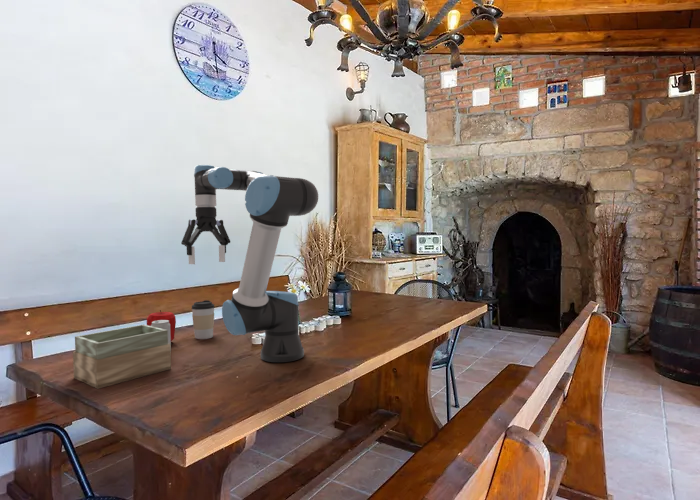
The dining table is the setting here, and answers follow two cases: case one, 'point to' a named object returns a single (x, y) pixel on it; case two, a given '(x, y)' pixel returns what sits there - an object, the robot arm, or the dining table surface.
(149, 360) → the wooden planter box
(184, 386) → the dining table surface
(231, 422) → the dining table surface
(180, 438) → the dining table surface
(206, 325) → the coffee cup
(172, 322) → the red rounded piece
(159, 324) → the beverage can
